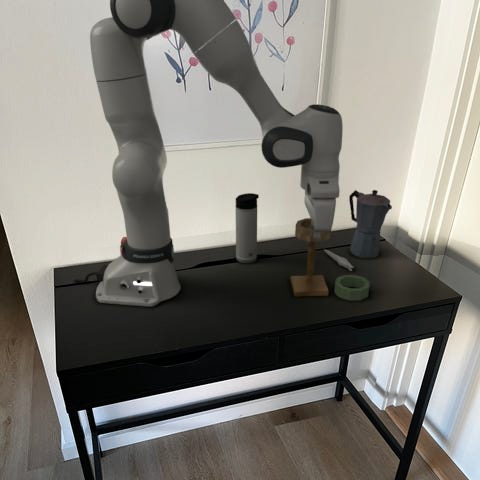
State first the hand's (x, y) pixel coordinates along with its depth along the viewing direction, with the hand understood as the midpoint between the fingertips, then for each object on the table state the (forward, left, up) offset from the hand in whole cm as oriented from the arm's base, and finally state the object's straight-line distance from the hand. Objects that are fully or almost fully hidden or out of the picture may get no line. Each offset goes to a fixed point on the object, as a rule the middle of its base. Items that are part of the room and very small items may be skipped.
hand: (315, 234), depth 128 cm
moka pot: (+20, +26, -17) cm, 37 cm away
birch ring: (0, +4, -2) cm, 4 cm away
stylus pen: (+11, +20, -17) cm, 28 cm away
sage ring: (+11, +1, -17) cm, 20 cm away
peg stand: (0, +4, -17) cm, 18 cm away
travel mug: (-16, +23, -17) cm, 33 cm away
